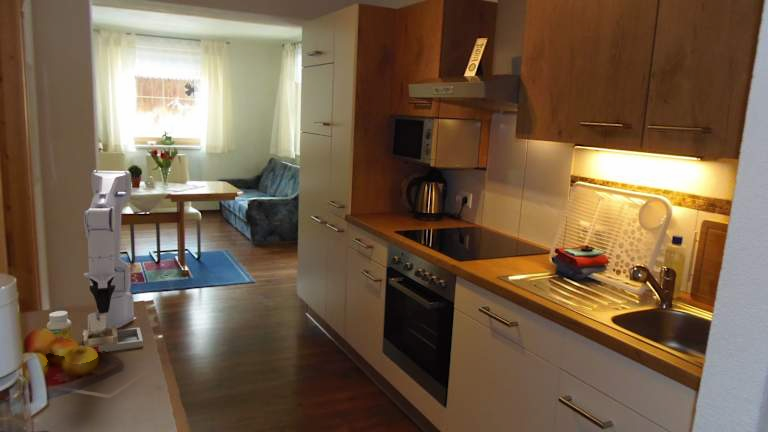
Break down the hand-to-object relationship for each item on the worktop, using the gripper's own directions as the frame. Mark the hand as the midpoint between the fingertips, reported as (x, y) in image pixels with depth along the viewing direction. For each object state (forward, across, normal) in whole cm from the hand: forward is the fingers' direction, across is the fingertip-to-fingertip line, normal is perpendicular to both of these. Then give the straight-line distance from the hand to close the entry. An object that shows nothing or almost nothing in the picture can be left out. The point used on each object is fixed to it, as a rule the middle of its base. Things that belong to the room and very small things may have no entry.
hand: (103, 307), depth 142 cm
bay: (+10, 0, +2) cm, 11 cm away
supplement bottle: (+11, -1, -10) cm, 15 cm away
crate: (+9, 0, -1) cm, 10 cm away
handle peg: (+9, 0, -2) cm, 9 cm away
